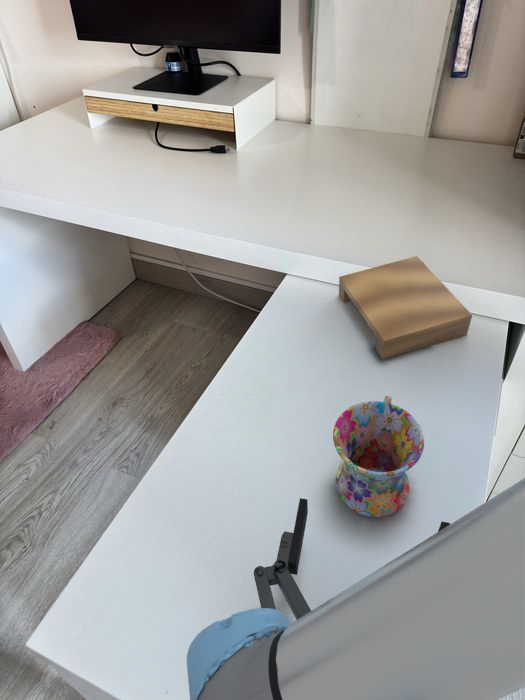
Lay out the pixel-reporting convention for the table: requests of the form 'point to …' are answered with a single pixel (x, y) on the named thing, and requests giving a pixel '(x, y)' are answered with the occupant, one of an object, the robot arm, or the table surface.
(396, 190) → the table surface
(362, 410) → the mug
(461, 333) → the shelf
